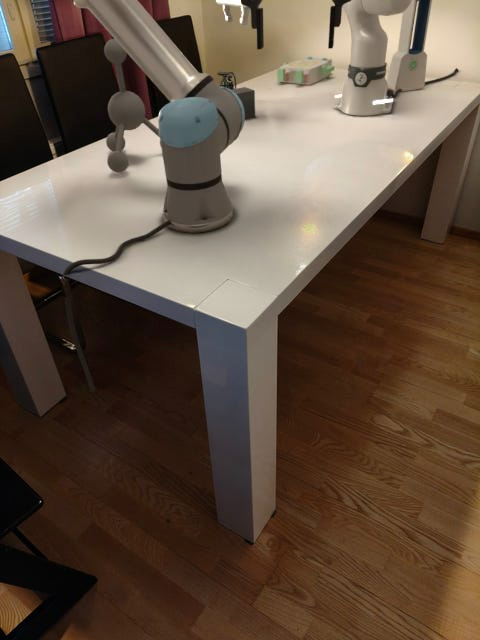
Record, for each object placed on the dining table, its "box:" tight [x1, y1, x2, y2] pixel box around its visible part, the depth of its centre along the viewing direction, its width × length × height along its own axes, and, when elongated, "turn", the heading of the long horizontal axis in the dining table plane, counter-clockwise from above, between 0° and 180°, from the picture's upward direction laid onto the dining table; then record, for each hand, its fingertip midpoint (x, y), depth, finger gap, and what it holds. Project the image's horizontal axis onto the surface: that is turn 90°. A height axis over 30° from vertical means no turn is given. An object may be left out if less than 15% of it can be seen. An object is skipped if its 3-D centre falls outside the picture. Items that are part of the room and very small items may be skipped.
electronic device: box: [386, 0, 433, 92], centre depth 177 cm, size 12×8×30 cm, turn 105°
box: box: [232, 86, 256, 121], centre depth 161 cm, size 26×6×9 cm, turn 120°
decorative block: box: [276, 56, 336, 86], centre depth 205 cm, size 26×6×20 cm
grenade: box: [216, 70, 237, 90], centre depth 181 cm, size 7×6×10 cm
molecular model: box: [103, 38, 161, 174], centre depth 130 cm, size 24×22×30 cm
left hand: (295, 48), depth 94 cm, fingers open, 13 cm apart
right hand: (236, 23), depth 150 cm, fingers open, 8 cm apart
